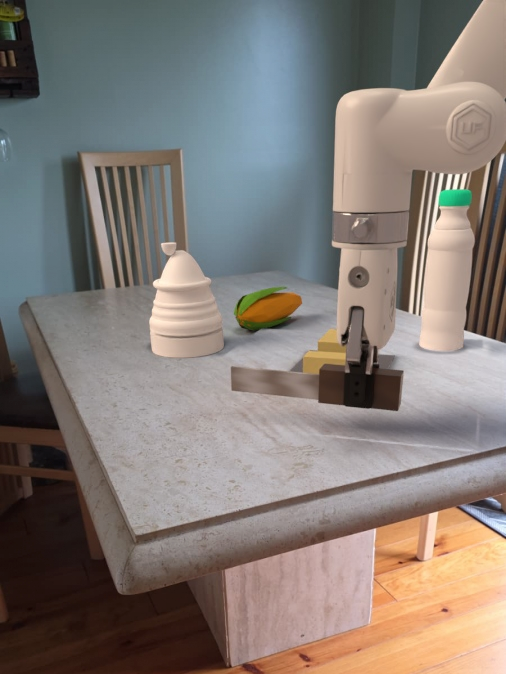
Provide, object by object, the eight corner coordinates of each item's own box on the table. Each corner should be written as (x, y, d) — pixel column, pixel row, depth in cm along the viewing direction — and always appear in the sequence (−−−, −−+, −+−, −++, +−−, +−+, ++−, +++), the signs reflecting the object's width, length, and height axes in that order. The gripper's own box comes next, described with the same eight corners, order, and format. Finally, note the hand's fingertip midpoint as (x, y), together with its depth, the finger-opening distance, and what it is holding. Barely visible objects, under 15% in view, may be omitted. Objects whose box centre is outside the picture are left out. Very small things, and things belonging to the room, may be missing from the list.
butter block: (366, 358, 98) (368, 330, 96) (357, 373, 91) (358, 343, 89) (329, 356, 100) (330, 328, 98) (317, 370, 93) (317, 341, 91)
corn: (223, 292, 117) (285, 276, 131) (223, 331, 121) (284, 312, 135) (253, 298, 113) (314, 282, 127) (252, 339, 117) (312, 318, 131)
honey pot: (161, 361, 104) (150, 249, 96) (144, 344, 115) (133, 241, 107) (234, 351, 108) (229, 243, 100) (211, 335, 119) (205, 236, 111)
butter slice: (350, 384, 87) (351, 353, 85) (345, 391, 84) (346, 359, 82) (308, 381, 89) (308, 350, 87) (302, 387, 86) (302, 356, 84)
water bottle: (439, 343, 109) (454, 188, 99) (471, 351, 103) (490, 188, 93) (409, 349, 106) (421, 190, 95) (441, 358, 100) (457, 190, 90)
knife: (400, 404, 70) (403, 370, 68) (398, 411, 68) (401, 376, 66) (235, 387, 76) (234, 355, 75) (228, 393, 74) (227, 361, 73)
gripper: (396, 239, 55) (382, 432, 62) (416, 223, 68) (403, 383, 76) (313, 238, 57) (310, 424, 65) (348, 223, 71) (342, 378, 78)
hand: (360, 400), depth 70 cm, fingers closed on knife, 2 cm apart
